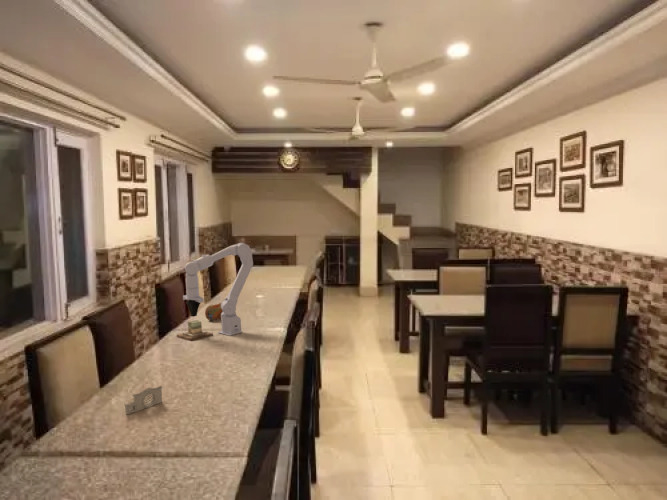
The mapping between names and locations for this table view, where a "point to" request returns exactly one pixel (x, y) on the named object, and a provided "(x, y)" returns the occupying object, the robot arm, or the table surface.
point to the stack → (194, 327)
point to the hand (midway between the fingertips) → (194, 316)
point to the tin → (213, 312)
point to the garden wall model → (140, 397)
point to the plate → (195, 336)
